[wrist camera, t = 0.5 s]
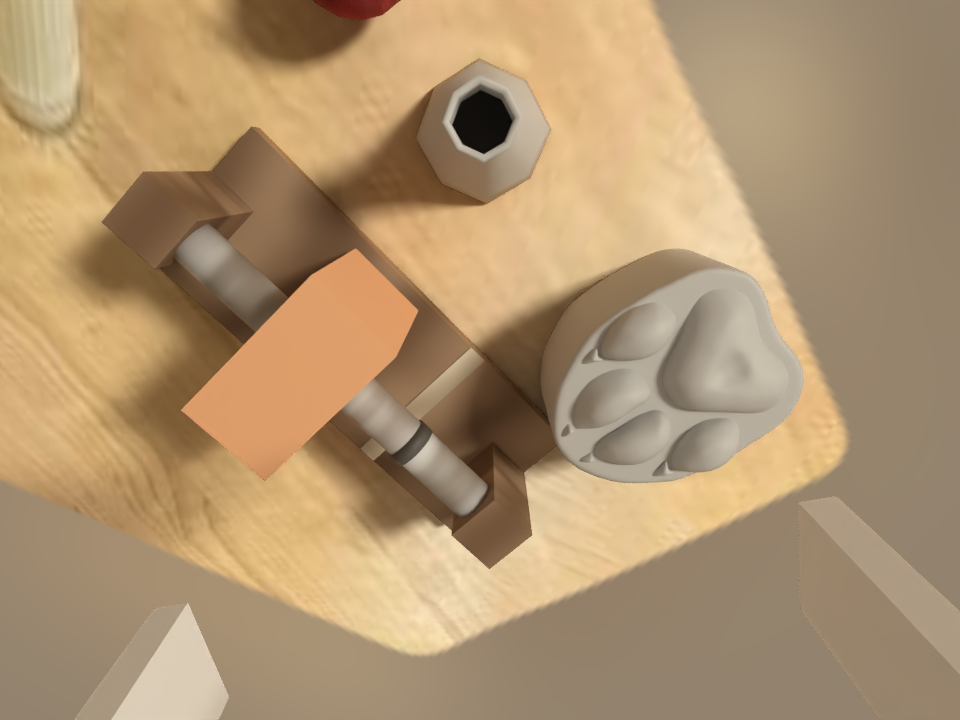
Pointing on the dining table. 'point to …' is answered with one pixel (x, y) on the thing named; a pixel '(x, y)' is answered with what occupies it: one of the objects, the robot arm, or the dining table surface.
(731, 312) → the lumpy-topped squat cylinder
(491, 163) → the flask
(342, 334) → the collar
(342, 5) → the onion
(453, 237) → the dining table surface
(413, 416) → the pipe stand
